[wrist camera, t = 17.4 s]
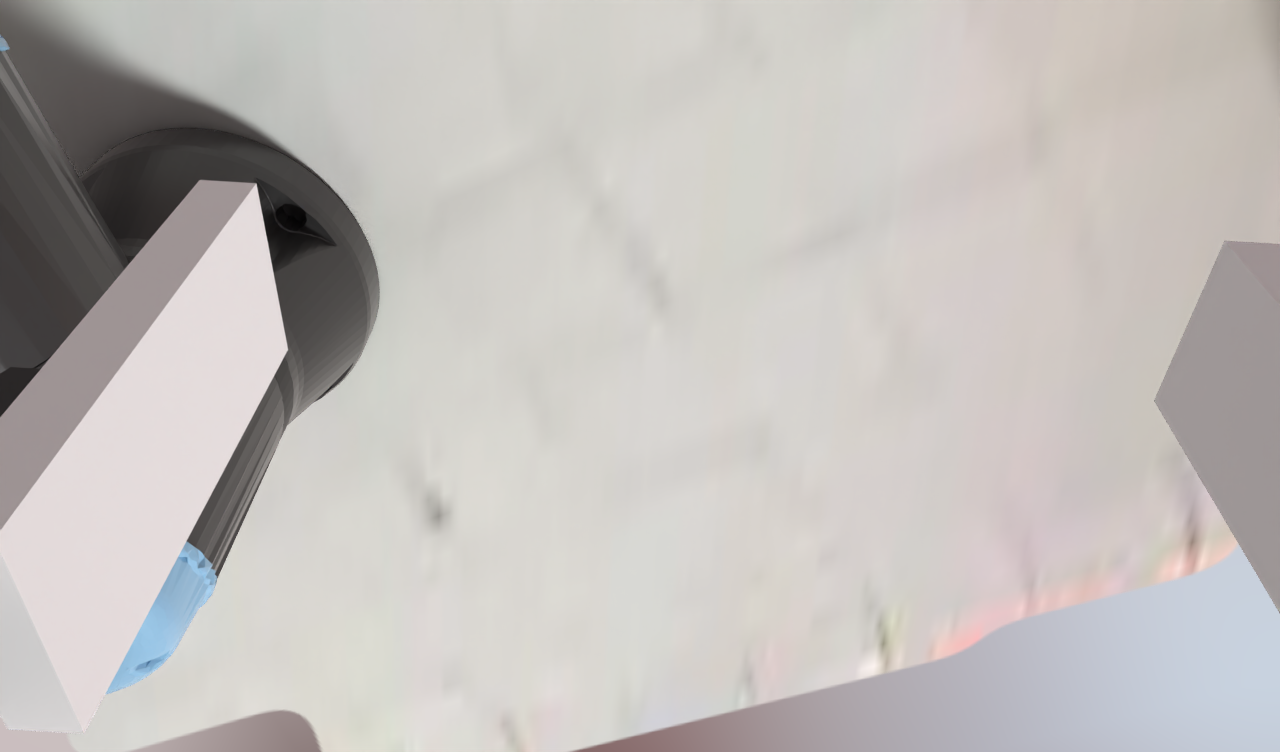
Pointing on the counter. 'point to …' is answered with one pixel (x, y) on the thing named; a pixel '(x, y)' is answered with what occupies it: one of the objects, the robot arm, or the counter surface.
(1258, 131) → the counter surface
